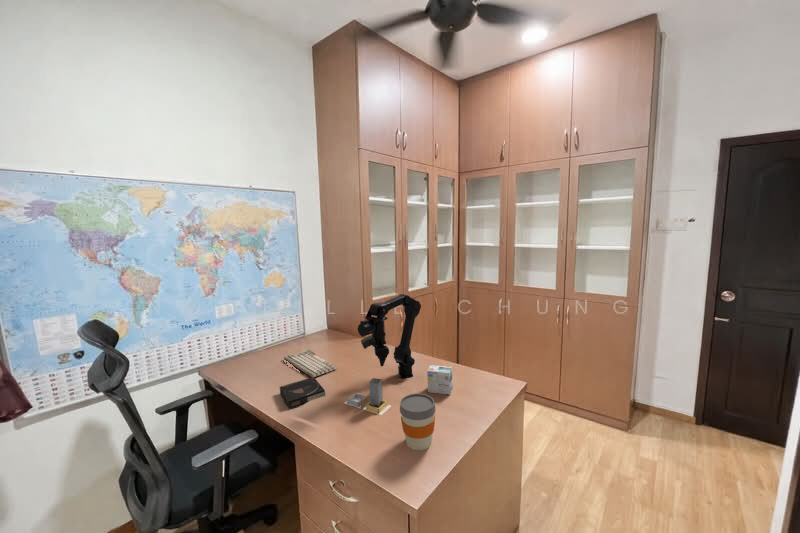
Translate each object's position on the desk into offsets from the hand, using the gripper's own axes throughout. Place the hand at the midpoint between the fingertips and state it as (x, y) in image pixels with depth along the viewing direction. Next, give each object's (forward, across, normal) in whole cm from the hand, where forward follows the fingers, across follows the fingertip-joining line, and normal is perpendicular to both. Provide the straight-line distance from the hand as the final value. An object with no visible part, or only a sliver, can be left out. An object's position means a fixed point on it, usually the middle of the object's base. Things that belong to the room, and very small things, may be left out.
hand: (380, 362), depth 152 cm
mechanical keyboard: (+14, -40, -36) cm, 55 cm away
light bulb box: (+13, +10, +26) cm, 31 cm away
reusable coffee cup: (+13, +42, +7) cm, 45 cm away
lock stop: (+12, +18, -5) cm, 22 cm away
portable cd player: (+14, -4, -37) cm, 40 cm away
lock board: (+13, +14, -9) cm, 21 cm away
